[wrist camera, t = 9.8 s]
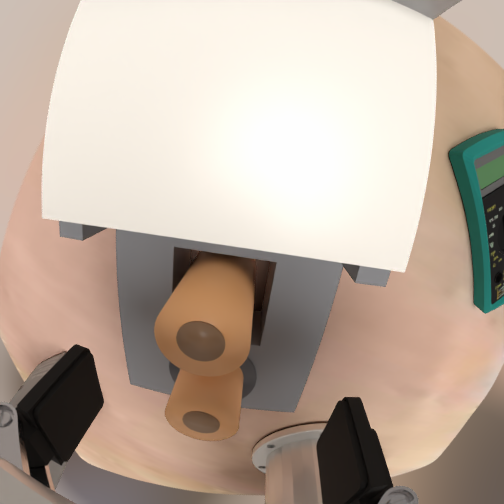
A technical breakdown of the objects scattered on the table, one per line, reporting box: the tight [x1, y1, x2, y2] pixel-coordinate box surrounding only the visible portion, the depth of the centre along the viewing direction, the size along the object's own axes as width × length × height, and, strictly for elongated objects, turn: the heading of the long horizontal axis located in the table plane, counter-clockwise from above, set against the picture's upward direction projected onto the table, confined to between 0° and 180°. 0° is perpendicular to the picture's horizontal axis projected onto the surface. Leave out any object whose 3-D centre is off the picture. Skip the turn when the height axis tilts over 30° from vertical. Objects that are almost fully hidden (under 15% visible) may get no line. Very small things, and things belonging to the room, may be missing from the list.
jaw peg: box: [154, 251, 256, 377], centre depth 14 cm, size 4×4×8 cm
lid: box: [42, 0, 461, 272], centre depth 5 cm, size 10×12×4 cm
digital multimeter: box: [449, 129, 504, 314], centre depth 15 cm, size 7×15×3 cm, turn 27°
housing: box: [59, 221, 391, 441], centre depth 13 cm, size 24×12×9 cm, turn 172°
